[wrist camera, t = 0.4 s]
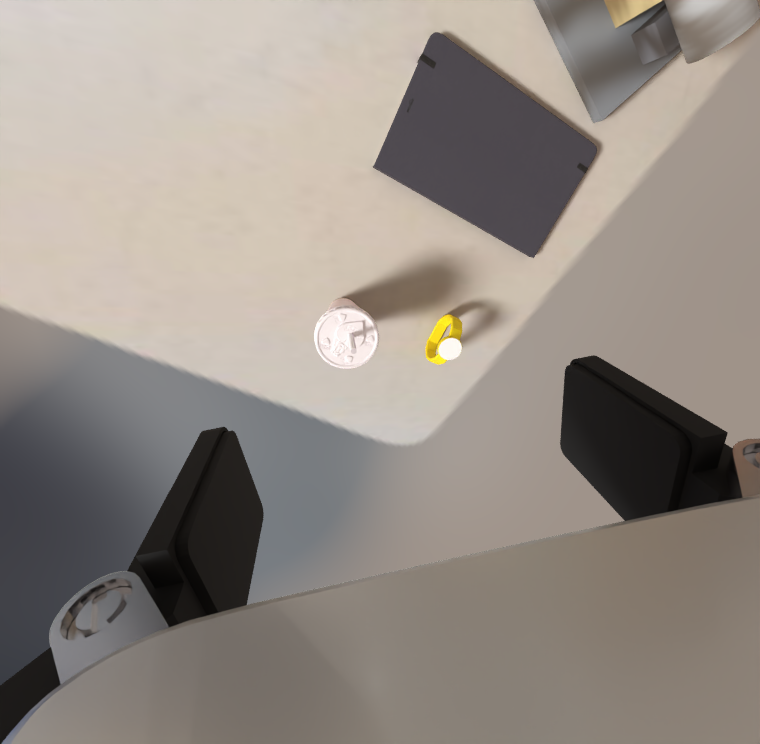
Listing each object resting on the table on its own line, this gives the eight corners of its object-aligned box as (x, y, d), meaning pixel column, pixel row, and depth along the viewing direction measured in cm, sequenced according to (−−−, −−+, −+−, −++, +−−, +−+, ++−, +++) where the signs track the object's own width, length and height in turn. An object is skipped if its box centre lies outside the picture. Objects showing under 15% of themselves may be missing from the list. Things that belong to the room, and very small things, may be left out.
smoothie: (380, 309, 47) (400, 350, 34) (346, 348, 48) (354, 401, 36) (338, 275, 45) (344, 305, 32) (305, 317, 46) (297, 361, 33)
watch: (435, 354, 51) (446, 376, 45) (417, 346, 50) (426, 367, 45) (459, 315, 48) (473, 332, 43) (440, 306, 48) (453, 323, 42)
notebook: (371, 167, 41) (527, 256, 47) (373, 166, 40) (534, 258, 46) (429, 34, 37) (591, 150, 43) (433, 27, 36) (600, 148, 42)
